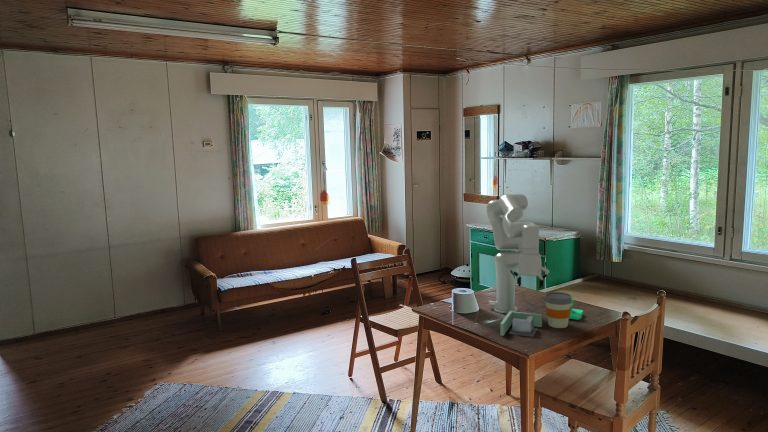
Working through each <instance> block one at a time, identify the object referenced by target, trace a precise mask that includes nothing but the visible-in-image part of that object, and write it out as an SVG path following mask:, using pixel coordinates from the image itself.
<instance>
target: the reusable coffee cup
mask: <svg viewBox="0 0 768 432" xmlns="http://www.w3.org/2000/svg"><path fill="white" fill-rule="evenodd" d="M544 297H545V298H544V301H545V315H546V316H547V317H546V318H547V324H548V326H549V327H552V328H556V329H565V328H567V327H568V325H569V320H570V319H569V317H570V313H571V309H572V306H571V303H572V298H573V297H572V295H571V294H570V293H567V292H566V293H565V292H562V291H561V292H559V291H553V292H552V291H551V292H548V293H545V296H544Z"/></svg>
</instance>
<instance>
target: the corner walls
mask: <svg viewBox="0 0 768 432" xmlns="http://www.w3.org/2000/svg"><path fill="white" fill-rule="evenodd" d="M528 316H532V317H534V327H540V328H542V326H543V314H540V313H533V312H532V313H531V312H521V311H517V312H515V311H509V312H508V313H506V315H505V316H504V317H503V320H501V322H500V325H499V327H500V329H499V330H500V333H499V335H500V336H501V337H504V336H505V335H506V334H507V331H508V330H509V329H510V327H511V325H512V320H513V318H516V319H525V320H526V319H527V318H528Z"/></svg>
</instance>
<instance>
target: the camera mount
mask: <svg viewBox="0 0 768 432" xmlns="http://www.w3.org/2000/svg"><path fill="white" fill-rule="evenodd" d="M573 306H574V298H573V297H572V303H571V307H573ZM583 314H584V310H582V309H577V308H571V313H570V317H569V320H572V319H573V320H581V319H582V318H583Z"/></svg>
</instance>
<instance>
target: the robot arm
mask: <svg viewBox="0 0 768 432" xmlns="http://www.w3.org/2000/svg"><path fill="white" fill-rule="evenodd" d="M528 206H529V201H528V198H527V197H526V195H524V194H522V193H517V194H513V193H512V194H510V193H509V194H504V195H502V196H500V198H499V199H494V200H493V199H492V200H490V201H488V202H487V205H486V214H487V218H488V220H489V223H490V224H491V228H492V233H493V240H494V242H493V243H494V245H495V246H494V247H495V248H496V250H498V251H501V252H498V253H497V254H496V255H495V256H494V266H495V273H496V274H495V275H496V276H495V277H496V279H495V280H496V289H495V290H496V297H495V298H496V300H494V301H493V300H488V304H489V306H493V311H494V312H496V313H500V314H508V312H509V311H515V312H518V311H519V310H518V307H517V306H515V302H516V301H515V297H516V296H515V294H516V293H515V289H516V288H515V287H516V283H517V286H518V288H519V287H521V286H522V277H521V276H526V277H527V276H529V277H530V276H531V277H538V278H539V280H538V281H539V283H538V285H539V289H542V287H544V279H546V278H547V277H548V275H549V273H550V270H549V269H548V268H546V267H545V266H542V258H541V256H542V255H541V254H540V251H539V250H540V248H539V247H540V227H539V226H538V225H537V224H535V223H534V222H532V221H520V220H521V218H522V217H523V214H524V211H525V210H527V208H528ZM502 216H503V217H502ZM513 250H514V251H513ZM502 251H504V252H502ZM516 270H518V272H517V271H516ZM511 271H512V272H511ZM543 272H544V274H542V273H543ZM515 277H516V283H515Z"/></svg>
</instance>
